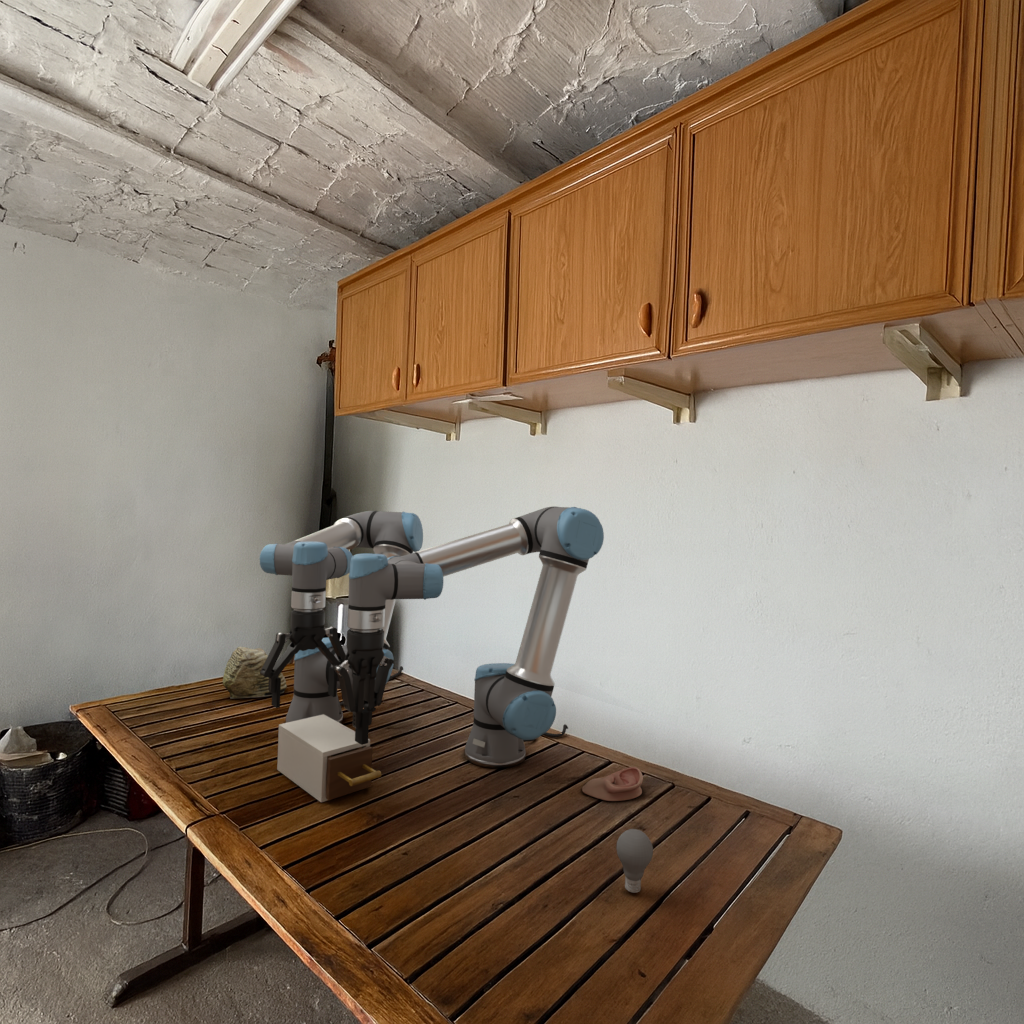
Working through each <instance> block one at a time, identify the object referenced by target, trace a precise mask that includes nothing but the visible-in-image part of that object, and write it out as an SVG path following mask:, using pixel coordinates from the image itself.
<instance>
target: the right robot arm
mask: <svg viewBox="0 0 1024 1024" xmlns="http://www.w3.org/2000/svg"><path fill="white" fill-rule="evenodd" d="M604 539H605V533H604V527H603V524H602V523H601V521H600V519H599V518H598V516H597V515H596V514H594V513H593V512H592V511H590V510H588V509H585V508H581V507H577V506H570V507H569V506H547V507H543V508H540V509H537V510H535V511H532V512H528V513H526V514H523V515H520V516H518V517H514V518H511V519H510V521H509V522H508V523H507V524H505V525H501V526H497V527H495V528H491V529H488V530H484V531H482V532H478V533H474V534H471V535H467V536H464V537H461V538H458V539H454V540H452V541H448V542H445V543H442V544H441V543H440V544H438V545H435V546H431V547H428V548H424V549H420V550H419V551H417V552H413V553H411V554H408V555H404V556H392V557H389V558H387V557H386V556H385V555H383V554H375V553H371V552H370V553H369V552H368V553H367V552H365V553H356V554H354V555H352V556H353V557H352V558H351V563H350V572H349V573H348V603H347V604H348V606H347V607H348V608H347V621H346V626H347V628H348V630H347V631H346V645H347V654H346V656H345V661H344V662H343V663H342V664H341V665H340V666H339V665H336V666H335V667H334V670H335V672H336V673H337V675H338V677H339V683H340V688H341V689H340V693H341V697H342V701H343V704H344V705H343V708H344V709H345V710H347V711H348V712H351V713H352V723H351V725H352V727H353V728H354V731H355V741H356V742H358V743H359V744H361V745H363V744H367V743H368V739H369V731H370V726H371V725H372V723H373V713H374V712H375V711H376V709H377V708H376V707H379V706H381V705H382V702H383V699H384V693H385V689H386V686H387V684H386V681H387V677H388V672H389V669H390V668H391V666H392V664H393V665H394V661H393V660H392V659H390V658H387V657H385V656H384V652H383V649H382V647H383V646H384V631H383V629H381V628H383V627H384V623H385V603H386V600H393V599H396V600H423V601H424V600H430V599H437V598H439V597H440V596H441V595H442V593H443V589H444V577H447V576H450V575H454V574H457V573H459V572H463V571H466V570H469V569H472V568H475V567H478V566H482V565H484V564H489V563H491V562H494V561H497V560H500V559H503V558H507V557H510V556H512V555H515V554H518V555H520V556H526V555H529V554H534V553H539V554H538V559H539V560H540V561H541V564H542V565H541V566H542V567H541V571H540V574H539V577H538V581H537V585H536V588H535V591H534V595H533V599H532V603H531V606H530V610H529V613H528V616H527V621H526V623H525V628H524V631H523V634H522V638H521V642H520V647H519V649H518V652H517V656H516V659H515V663H511V662H495V663H493V662H492V663H485V664H481V665H479V666H477V668H476V669H475V677H474V693H473V694H474V695H473V722H472V723H473V724H472V727H471V730H470V732H469V734H468V738H467V740H466V743H465V746H464V747H465V748H464V757H465V759H466V760H467V761H468V762H469V763H472V764H473V765H475V766H478V767H483V768H489V769H505V768H512V767H515V766H519V765H520V764H522V763H523V762H524V761H525V759H526V752H527V751H526V745H525V743H527V742H528V743H529V742H534V741H536V740H537V739H538V738H540V737H541V736H545V737H549V738H561V737H563V736H565V734H566V732H567V730H569V726H568V725H567V724H566V723H564V724H563V726H562V731H561V732H560V733H562V734H560V733H551V732H548V731H549V730H550V729H551V728H552V726H553V724H554V722H555V720H556V716H557V706H556V703H555V701H554V699H553V697H552V696H553V692H554V688H555V685H556V683H555V681H554V679H553V677H552V671H553V667H554V664H555V660H556V656H557V653H558V649H559V645H560V642H561V638H562V634H563V630H564V627H565V623H566V620H567V616H568V613H569V609H570V605H571V602H572V598H573V594H574V591H575V587H576V584H577V580H578V576H580V574H582V573H583V572H585V571H586V570H587V568H588V564H589V561H590V559H592V558H593V557H595V555H598V553H599V552H600V551H601V549H602V547H603V545H604ZM378 666H379V667H378ZM349 667H350V669H351V670H352V678H353V688H352V686H351V681H350V676H349V674H348V673H349ZM377 667H378V670H377Z"/></svg>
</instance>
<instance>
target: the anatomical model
mask: <svg viewBox="0 0 1024 1024" xmlns="http://www.w3.org/2000/svg"><path fill="white" fill-rule="evenodd" d="M643 782H644V775H643V773H642V771H641V770H640V769H639V768H638V767H637V766H630V767H625V768H623V769H620V770H617V771H615V772H613V773H610V774H608V775H605V776H604V777H596V778H595V777H594V778H592V779H590V780H588V781H587V782H586V783H585V784H584V785H583V786H582V788H581V792H582V793H583V794H585V795H587V796H590V797H593V798H595V799H598V800H602V801H606V802H619V801H621V802H622V801H628V800H633V799H635V798H638V797H640V796H641V795H642V793H643V789H642V787H641V786H642V784H643Z"/></svg>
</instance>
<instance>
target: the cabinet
mask: <svg viewBox="0 0 1024 1024" xmlns="http://www.w3.org/2000/svg"><path fill="white" fill-rule="evenodd" d="M277 737H278V739H277V742H278V743H277V762H276V763H277V766H276V770H277V771H278V772H280V773H281V774H282V775H283V776H285V777H286V778H288V779H289V780H290V781H292V782H293V783H294V784H296V785H297V786H298V787H300V788H301V789H302V790H304V791H305V792H306V793H307V794H309V795H310V796H311V797H313V798H314V799H315V800H317V801H318V802H320V803H325V802H327V801H329V800H328V799H326V777H327V756H330V755H334V754H337V753H341V752H344V751H348V750H351V749H355V748H359V747H362V748H365V747H368V746H370V747H371V739H370V738H368V743H367V744H363V745H361V744H359V743H358V742H356V741H355V730H353V729H352V728H350V727H348V726H346V725H344V724H342V723H341V724H340V723H339V722H337V721H335V720H333V719H331V718H329V717H328V716H326V715H324V714H323V715H319V716H314V717H310V718H305V719H301V720H297V721H292V722H288V723H286V722H283V723H280V724H278V735H277Z"/></svg>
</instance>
